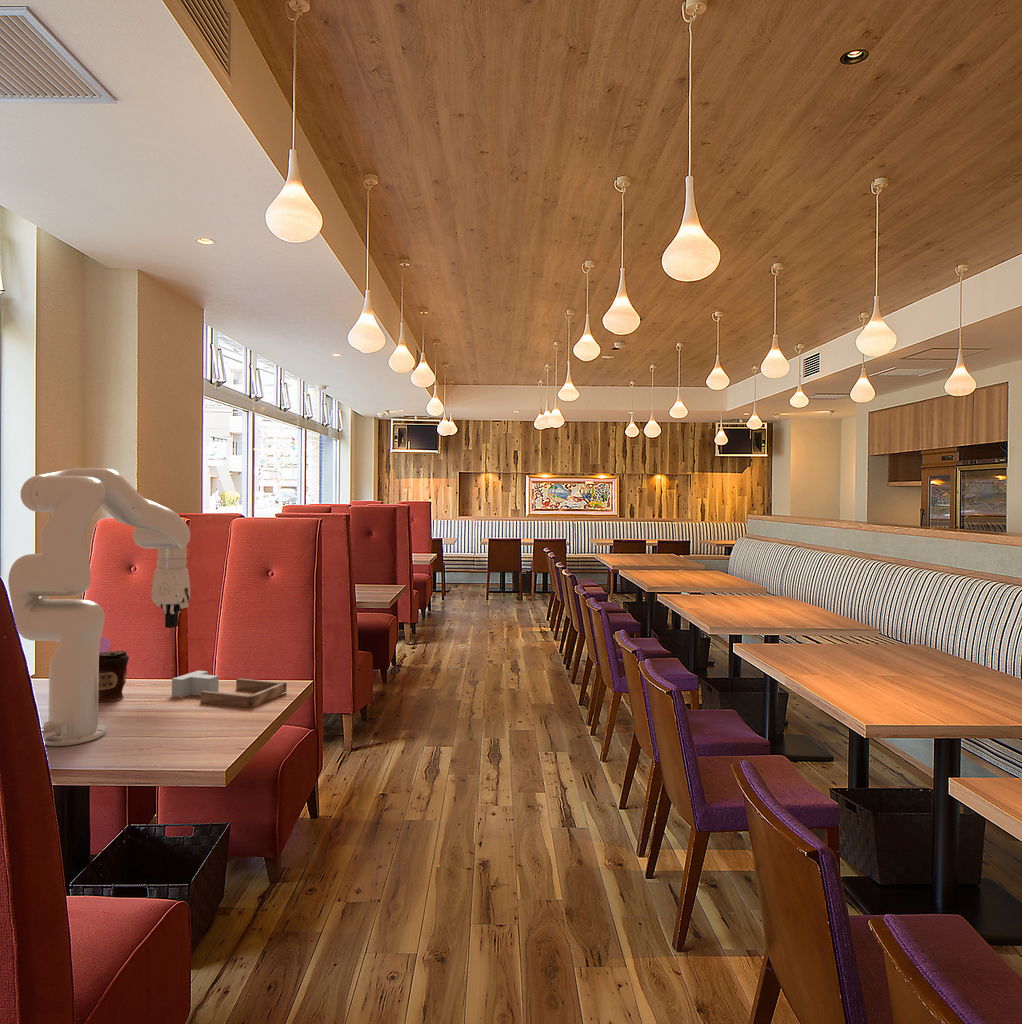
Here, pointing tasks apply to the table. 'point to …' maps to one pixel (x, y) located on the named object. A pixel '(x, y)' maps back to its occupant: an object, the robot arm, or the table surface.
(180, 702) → the table surface
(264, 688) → the corral
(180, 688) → the tee block
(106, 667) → the coffee cup
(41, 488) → the robot arm
